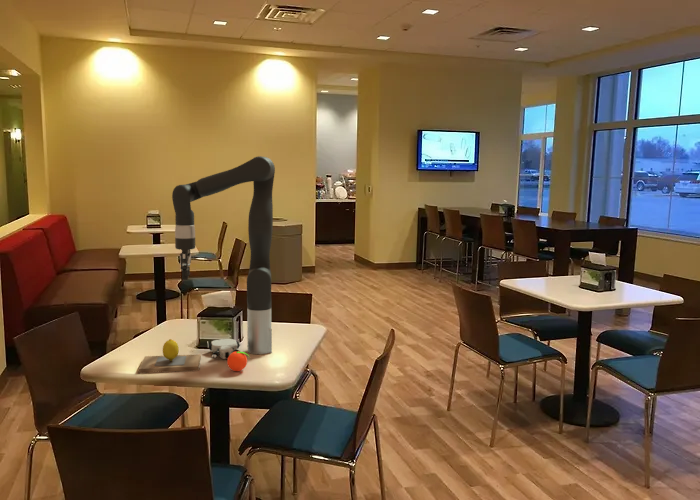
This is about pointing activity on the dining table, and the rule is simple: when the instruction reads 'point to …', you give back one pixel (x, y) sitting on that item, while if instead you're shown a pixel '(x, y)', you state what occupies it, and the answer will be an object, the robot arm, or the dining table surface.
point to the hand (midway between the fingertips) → (185, 277)
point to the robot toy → (223, 347)
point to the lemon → (170, 349)
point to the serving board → (170, 363)
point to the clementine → (237, 361)
